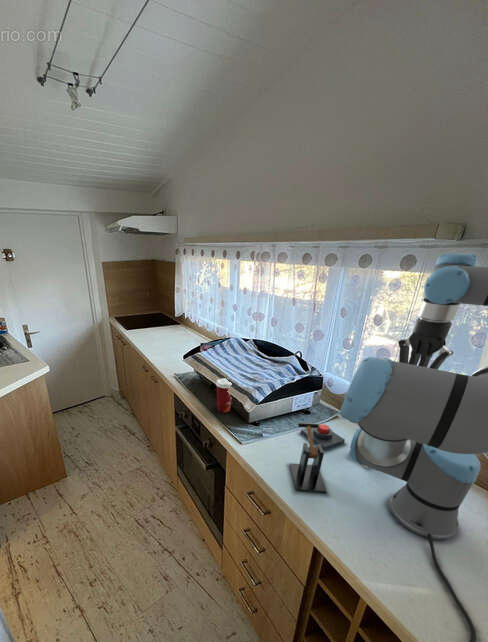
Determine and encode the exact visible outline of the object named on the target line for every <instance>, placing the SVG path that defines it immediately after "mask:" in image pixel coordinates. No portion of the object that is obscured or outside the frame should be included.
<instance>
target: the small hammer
mask: <svg viewBox="0 0 488 642" xmlns="http://www.w3.org/2000/svg"><path fill="white" fill-rule="evenodd" d="M318 424H319V423H311V422H298V424H297V425H298V428H304V429H305V428H307V434H308V438H307V440H308V448H309V451H310V454H309V459H313V460H314V459H316V458H317V456H318V452H317V446H314V445H315V443H313V438H312V432H311V428H318V426H319V425H318Z"/></svg>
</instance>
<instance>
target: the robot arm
mask: <svg viewBox="0 0 488 642" xmlns="http://www.w3.org/2000/svg"><path fill="white" fill-rule="evenodd" d="M477 262H478V255H476V254H474V253H443V254H441V255H440V256H439V257H438V258H437V261H436V263H435V265H434V267H433V271H432V272H431V273H430V274H429V275H428V276H427V278H426V280H425V283H424V286H423V292H424V298H423V301H422V303H421V306H420V309H419V312H418V314H417V316H418V318H417V319H416V321H415V323H414V326H413V328H412V333H411V334H410V335H409V337H408V338H404V339H400V340H398V346H399V358H398V361H396V360H392V359H390V358H389V357H384V358H382V357H374V356H367V357H365V358H363V359H362V360H360V362H359V364H358V366H357V368H356V371H355V373H354V375H353V377H352V379H351V381H350V384H349V387H348V390H347V391H346V395H345V396H344V399H343V402H342V404H341V408H340V411H339V414H340V417H341V418H342V419H344V420H347V421H349V423H352V424H357V425H358V427H357V428H356V429H355V431H354V434H353V436H352V439H351V442H350V446H349V457H350V459H351V460H352V461H353V462H356V463H358V464H359V465H360V466H363V465H364V466H367V467H369V468H370V469H372V470H375V471H377V472H380V473H383V474H385V475H388V476H391V477H394V478H396V479H399V480H401V481H404V482H406V483H405V484H404V485H403V486H402V487H400V488H399V489H398V490H397V491H396V492H395V493H394V494H393V495H392V496H391V498H390V500H389V503H388V504H389V505H388V507H389V511H390V513H391V515H392V516H393V518H394V519H395V520H396V521H397V522H398V523H399V524H400V525H402V526H403V527H404V528H405V529H407V530H408V531H410V532H411V533H414V534H415V535H418V536H420V537H424V538H425V539H426V538H427V539H428V543H429V547H430V553H431V558H432V561H433V563H434V566H435V568H436V570H437V573H438V574H439V576H440V577H441V579H442V581H443V583H444V585H445V586H446V588H447V589H448V591H449V594H450V595H451V597H452V599H453V600H454V602H455V603H456V605H457V607H458V609H459V610H460V612H461V613H462V615H463V617H464V618H465V620H466V622H467V624H468V626H469V627H468V628H469V630H470V640H469V642H477V633H476V629H475V626H474V623H473V621H472V619H471V618H470V615H469V614H468V613H467V611H466V609H465V608H464V606H463V604H462V603H461V602H460V600H459V598H458V596H457V595H456V593H455V591H454V589H453V588H452V586H451V584H450V582H449V581H448V579H447V578H446V576H445V574H444V572H443V571H442V568H441V567H440V565H439V563H438V560H437V556H436V552H435V551H436V550H435V546H434V542H433V541H445V540H449V539H451V538H453V537H454V536H455V534H456V532H457V531H458V528H459V519H458V517H459V508H460V507H461V505H462V503H463V501H464V499H466V496H467V495H468V492H469V491H470V489H471V488H472V486H473V484H475V483H476V482H477V479H478V476H479V474H480V471H481V461H480V460H479V458H478V457H477V455H479V454H486V453H488V332H487V333H486V338H485V342H484V345H483V349H482V352H481V356H480V359H479V363H478V368H477V370H476V371H474V372H473V373H472V374H471V375H467V374H461V373H458V372H453V371H447V370H442V369H440V367H441V366H442V365H443V363H444V362H445V361H446V359H447V358H449V357H451V356H453V355H454V350H449V348H447V347H446V345H447V342H446V339H447V338H448V336H449V333H450V330H451V328H452V326H453V322H452V321H454V319H455V317H456V315H457V313H458V310H459V308H460V305H461V304H462V305H472V306H483V307H488V266H476V265H477ZM410 348H411V352H410ZM438 351H439V352H438ZM437 352H438V353H437ZM436 353H437V354H438V356H437V357H436V358H435V359H433V362H432V363H431V364H430V366H429V363H430V361H431V359H432V358H433V355H434V354H436ZM364 466H363V467H364Z"/></svg>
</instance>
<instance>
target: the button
mask: <svg viewBox="0 0 488 642" xmlns="http://www.w3.org/2000/svg"><path fill="white" fill-rule="evenodd" d="M320 424H321V425H319V429H318V432H320V433H323V434H328V432H329V428H330V426H329V425H328V424H324V423H323V424H322V423H320Z"/></svg>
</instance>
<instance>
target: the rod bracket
mask: <svg viewBox="0 0 488 642" xmlns="http://www.w3.org/2000/svg"><path fill="white" fill-rule="evenodd" d="M316 447H317V452H318V456H317V458H316V459H313V460H312V464H309V459H310V458H309V454H310V451H309V444H308V443H307V442H303V443H302V449H301V454H300V459H299V463H293V462H291V463H289V470H290V474H291V477H292V482H293V486H294V491H296V492H306V493H318V494H319V493H320V494H327V489H326V486H325V483H324V480H323V477H322V475H321V472H320V471H321V467H322V465H323V460H324V455H325V450H323V449H322V447H321V444H317V445H316Z"/></svg>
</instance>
